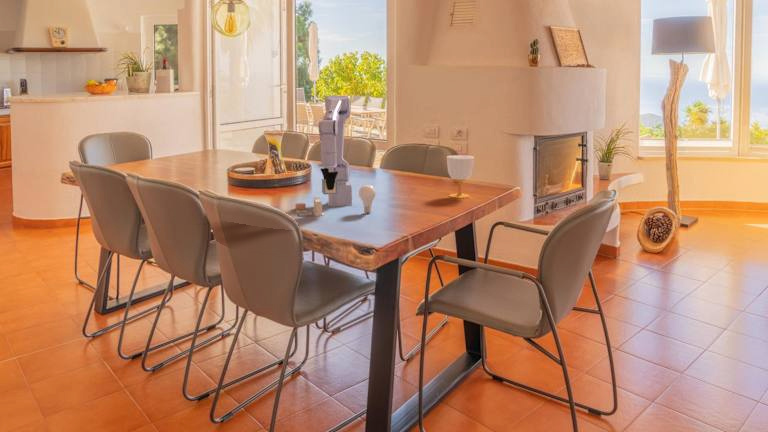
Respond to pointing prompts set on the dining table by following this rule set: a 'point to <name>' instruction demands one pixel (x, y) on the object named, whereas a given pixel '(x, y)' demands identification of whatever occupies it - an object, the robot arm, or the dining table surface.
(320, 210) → the tan rectangular block
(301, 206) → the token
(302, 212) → the pad
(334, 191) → the blue-grey cube
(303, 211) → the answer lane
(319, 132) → the robot arm
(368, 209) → the lightbulb
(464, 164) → the cup
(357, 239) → the dining table surface
